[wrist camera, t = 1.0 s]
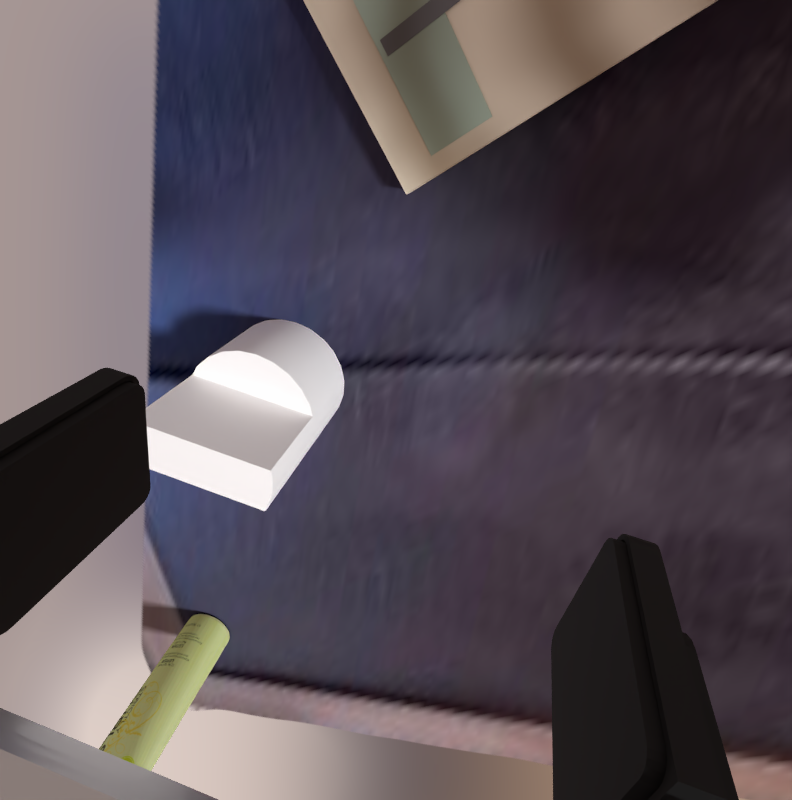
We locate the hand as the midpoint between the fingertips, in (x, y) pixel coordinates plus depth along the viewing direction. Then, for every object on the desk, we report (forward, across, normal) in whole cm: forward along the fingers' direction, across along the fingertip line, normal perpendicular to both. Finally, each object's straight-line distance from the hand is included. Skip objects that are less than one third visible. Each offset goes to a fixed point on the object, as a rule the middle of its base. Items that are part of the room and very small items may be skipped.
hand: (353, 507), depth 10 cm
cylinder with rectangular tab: (+25, +12, +13) cm, 30 cm away
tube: (+24, +17, +46) cm, 55 cm away
